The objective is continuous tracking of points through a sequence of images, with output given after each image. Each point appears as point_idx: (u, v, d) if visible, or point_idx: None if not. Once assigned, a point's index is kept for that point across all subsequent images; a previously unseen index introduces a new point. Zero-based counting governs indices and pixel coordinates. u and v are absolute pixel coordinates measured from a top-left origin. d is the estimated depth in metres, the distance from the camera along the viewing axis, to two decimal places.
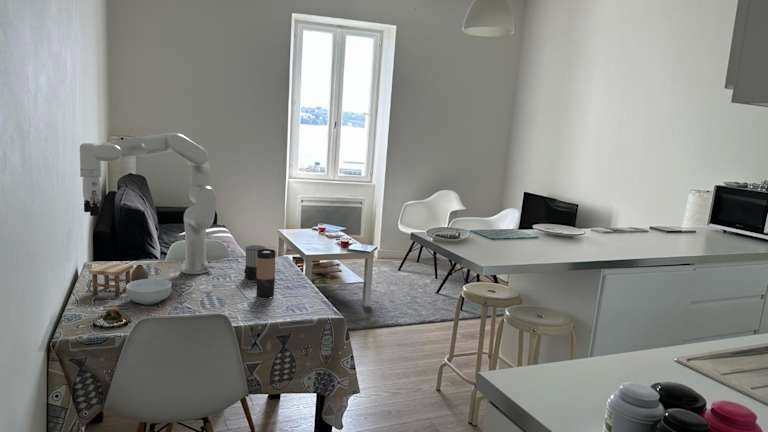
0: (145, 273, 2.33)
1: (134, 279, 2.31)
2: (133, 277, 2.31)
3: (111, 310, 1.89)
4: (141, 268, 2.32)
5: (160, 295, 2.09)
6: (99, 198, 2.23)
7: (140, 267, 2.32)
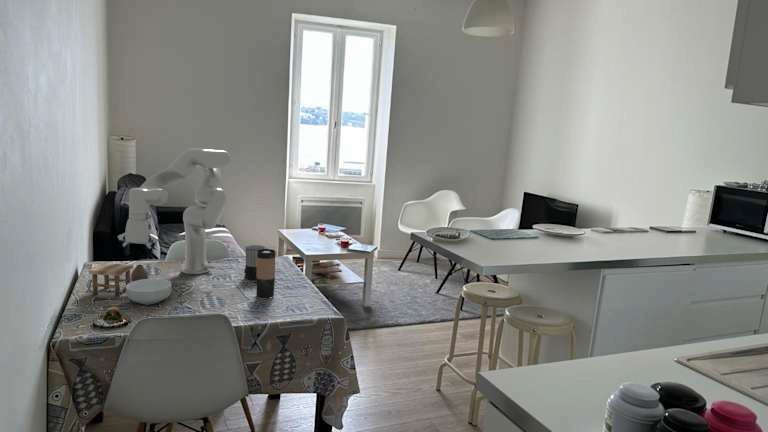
0: (145, 273, 2.33)
1: (134, 279, 2.31)
2: (133, 277, 2.31)
3: (111, 310, 1.90)
4: (141, 268, 2.32)
5: (160, 295, 2.09)
6: (151, 239, 2.33)
7: (140, 267, 2.32)
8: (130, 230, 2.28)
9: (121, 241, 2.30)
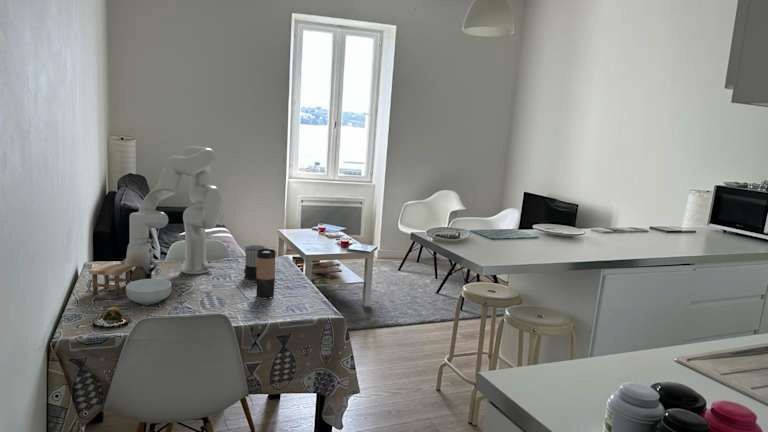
0: (145, 273, 2.33)
1: (134, 279, 2.31)
2: (133, 277, 2.31)
3: (111, 310, 1.90)
4: (141, 268, 2.32)
5: (160, 295, 2.09)
6: None
7: (140, 267, 2.32)
8: (131, 254, 2.30)
9: None
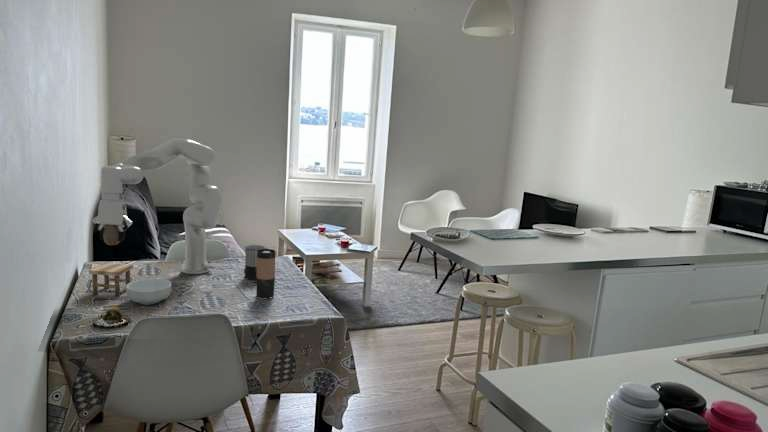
0: (118, 231, 2.18)
1: (106, 237, 2.16)
2: (105, 235, 2.16)
3: (111, 310, 1.90)
4: (114, 226, 2.18)
5: (160, 295, 2.09)
6: None
7: (113, 225, 2.18)
8: (103, 211, 2.16)
9: (96, 224, 2.18)
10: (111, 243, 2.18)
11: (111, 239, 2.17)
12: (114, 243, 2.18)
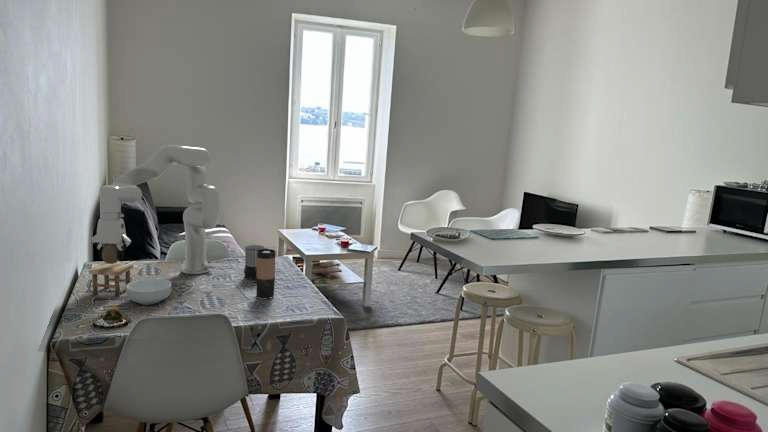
0: (117, 250, 2.19)
1: (105, 256, 2.17)
2: (104, 254, 2.17)
3: (111, 310, 1.90)
4: (112, 245, 2.19)
5: (160, 295, 2.09)
6: None
7: (111, 244, 2.18)
8: (102, 230, 2.16)
9: (95, 243, 2.19)
10: (110, 262, 2.18)
11: (110, 258, 2.17)
12: (113, 262, 2.19)
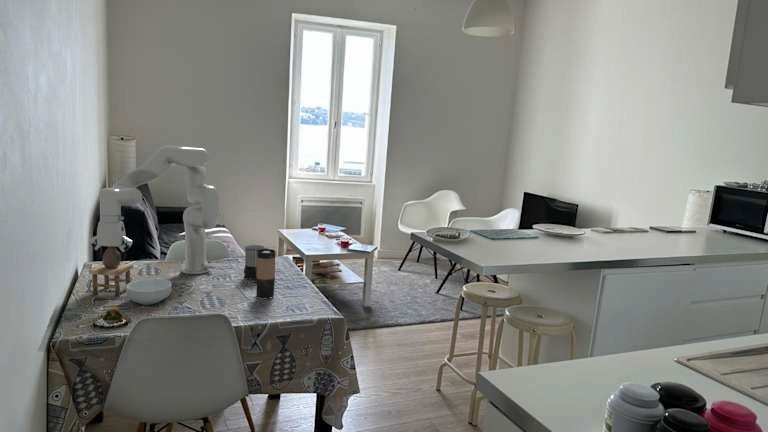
0: (117, 255, 2.20)
1: (105, 261, 2.17)
2: (104, 259, 2.18)
3: (111, 310, 1.90)
4: (113, 249, 2.19)
5: (160, 295, 2.09)
6: (125, 242, 2.21)
7: (112, 248, 2.19)
8: (102, 233, 2.16)
9: (93, 244, 2.19)
10: (111, 267, 2.19)
11: (111, 263, 2.18)
12: (113, 267, 2.19)
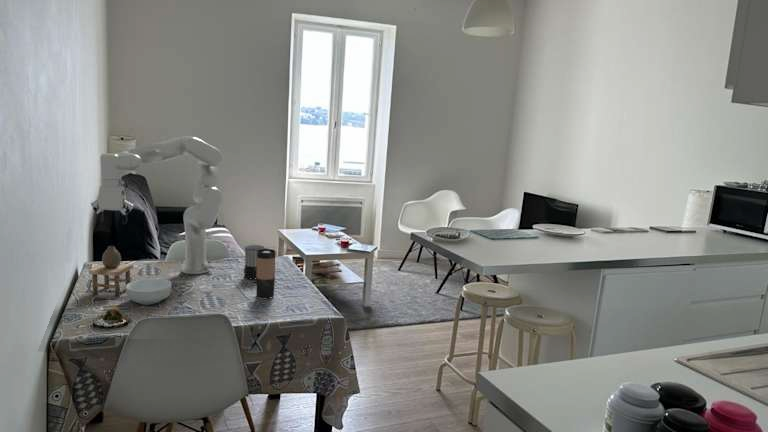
0: (117, 255, 2.20)
1: (105, 261, 2.17)
2: (104, 259, 2.18)
3: (111, 310, 1.90)
4: (113, 250, 2.19)
5: (160, 295, 2.09)
6: (126, 206, 2.30)
7: (112, 248, 2.19)
8: (103, 197, 2.24)
9: (94, 208, 2.27)
10: (111, 267, 2.19)
11: (111, 263, 2.18)
12: (113, 267, 2.19)
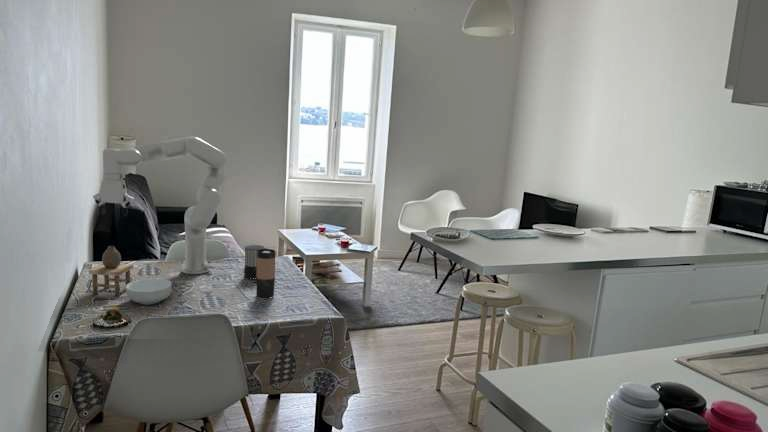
0: (117, 255, 2.20)
1: (105, 261, 2.17)
2: (104, 259, 2.18)
3: (111, 310, 1.90)
4: (113, 250, 2.19)
5: (160, 295, 2.09)
6: (126, 199, 2.39)
7: (112, 248, 2.19)
8: (105, 190, 2.34)
9: (96, 201, 2.36)
10: (111, 267, 2.19)
11: (111, 263, 2.18)
12: (113, 267, 2.19)
